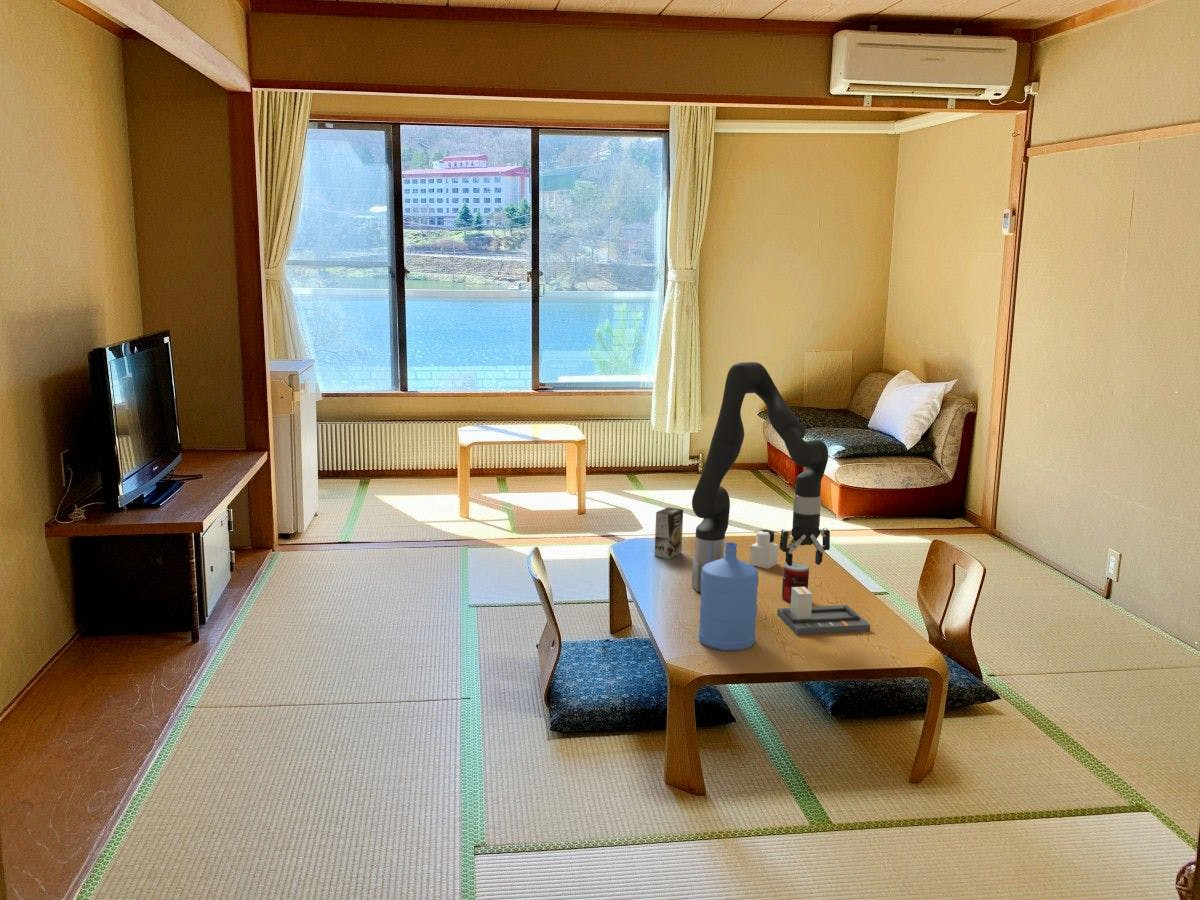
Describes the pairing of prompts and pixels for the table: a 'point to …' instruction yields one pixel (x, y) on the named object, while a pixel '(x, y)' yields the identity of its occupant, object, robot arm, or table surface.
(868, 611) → the table surface
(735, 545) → the water jug
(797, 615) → the block
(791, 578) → the canned food
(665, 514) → the coffee box
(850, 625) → the console
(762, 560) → the medicine bottle
